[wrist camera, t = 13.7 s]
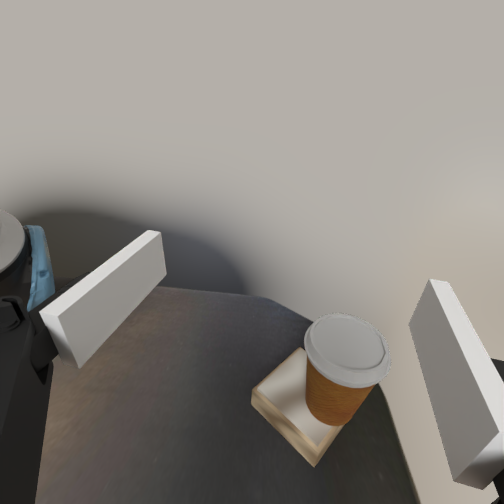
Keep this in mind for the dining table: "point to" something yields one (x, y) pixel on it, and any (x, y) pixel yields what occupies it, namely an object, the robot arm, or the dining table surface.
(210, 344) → the dining table surface
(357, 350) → the disposable coffee cup
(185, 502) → the dining table surface
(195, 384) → the dining table surface
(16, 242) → the robot arm
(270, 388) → the plinth
